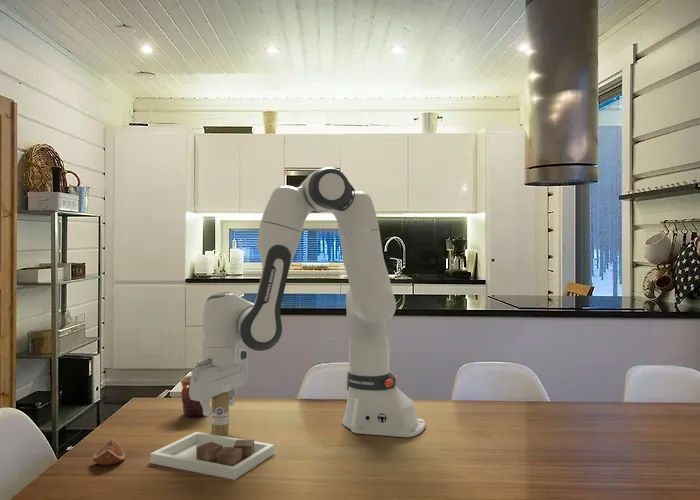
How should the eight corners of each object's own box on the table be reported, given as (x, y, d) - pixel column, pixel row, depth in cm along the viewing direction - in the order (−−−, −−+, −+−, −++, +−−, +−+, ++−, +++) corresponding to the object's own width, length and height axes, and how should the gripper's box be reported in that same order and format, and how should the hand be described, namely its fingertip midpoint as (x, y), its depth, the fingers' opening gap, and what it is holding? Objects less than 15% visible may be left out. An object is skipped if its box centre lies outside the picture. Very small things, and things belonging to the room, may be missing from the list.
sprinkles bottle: (212, 439, 144) (212, 386, 144) (209, 434, 148) (209, 382, 148) (230, 437, 146) (231, 384, 146) (227, 432, 150) (227, 380, 150)
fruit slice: (122, 471, 124) (122, 448, 124) (88, 474, 122) (88, 450, 122) (127, 457, 132) (127, 435, 132) (95, 459, 131) (95, 437, 130)
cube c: (254, 457, 130) (254, 439, 130) (251, 464, 126) (251, 445, 126) (236, 457, 130) (236, 439, 130) (233, 464, 126) (233, 445, 126)
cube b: (222, 463, 126) (222, 445, 126) (208, 469, 123) (208, 450, 123) (210, 459, 129) (210, 441, 129) (196, 465, 126) (196, 446, 125)
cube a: (242, 466, 125) (242, 448, 125) (234, 474, 121) (234, 455, 121) (225, 465, 126) (225, 446, 126) (216, 472, 122) (216, 453, 122)
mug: (189, 408, 170) (189, 374, 170) (216, 410, 169) (216, 376, 169) (168, 421, 159) (168, 384, 159) (197, 423, 157) (198, 385, 157)
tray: (274, 457, 133) (274, 444, 133) (234, 483, 118) (234, 469, 118) (196, 443, 141) (196, 431, 141) (150, 466, 127) (150, 453, 127)
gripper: (204, 364, 136) (203, 423, 136) (252, 350, 155) (251, 401, 155) (183, 362, 138) (182, 419, 139) (232, 348, 157) (231, 399, 157)
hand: (218, 410), depth 147 cm, fingers open, 8 cm apart
